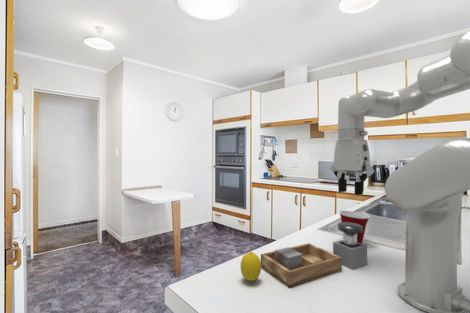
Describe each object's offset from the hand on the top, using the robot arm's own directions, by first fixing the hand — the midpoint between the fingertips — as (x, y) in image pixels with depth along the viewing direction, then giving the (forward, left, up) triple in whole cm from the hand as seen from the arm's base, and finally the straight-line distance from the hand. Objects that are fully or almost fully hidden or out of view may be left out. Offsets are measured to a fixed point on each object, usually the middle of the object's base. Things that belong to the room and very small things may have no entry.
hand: (350, 192), depth 77 cm
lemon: (+5, +34, -23) cm, 41 cm away
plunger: (0, 0, -19) cm, 19 cm away
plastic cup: (+10, -16, -23) cm, 29 cm away
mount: (0, 0, -22) cm, 22 cm away
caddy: (+4, +17, -22) cm, 28 cm away
